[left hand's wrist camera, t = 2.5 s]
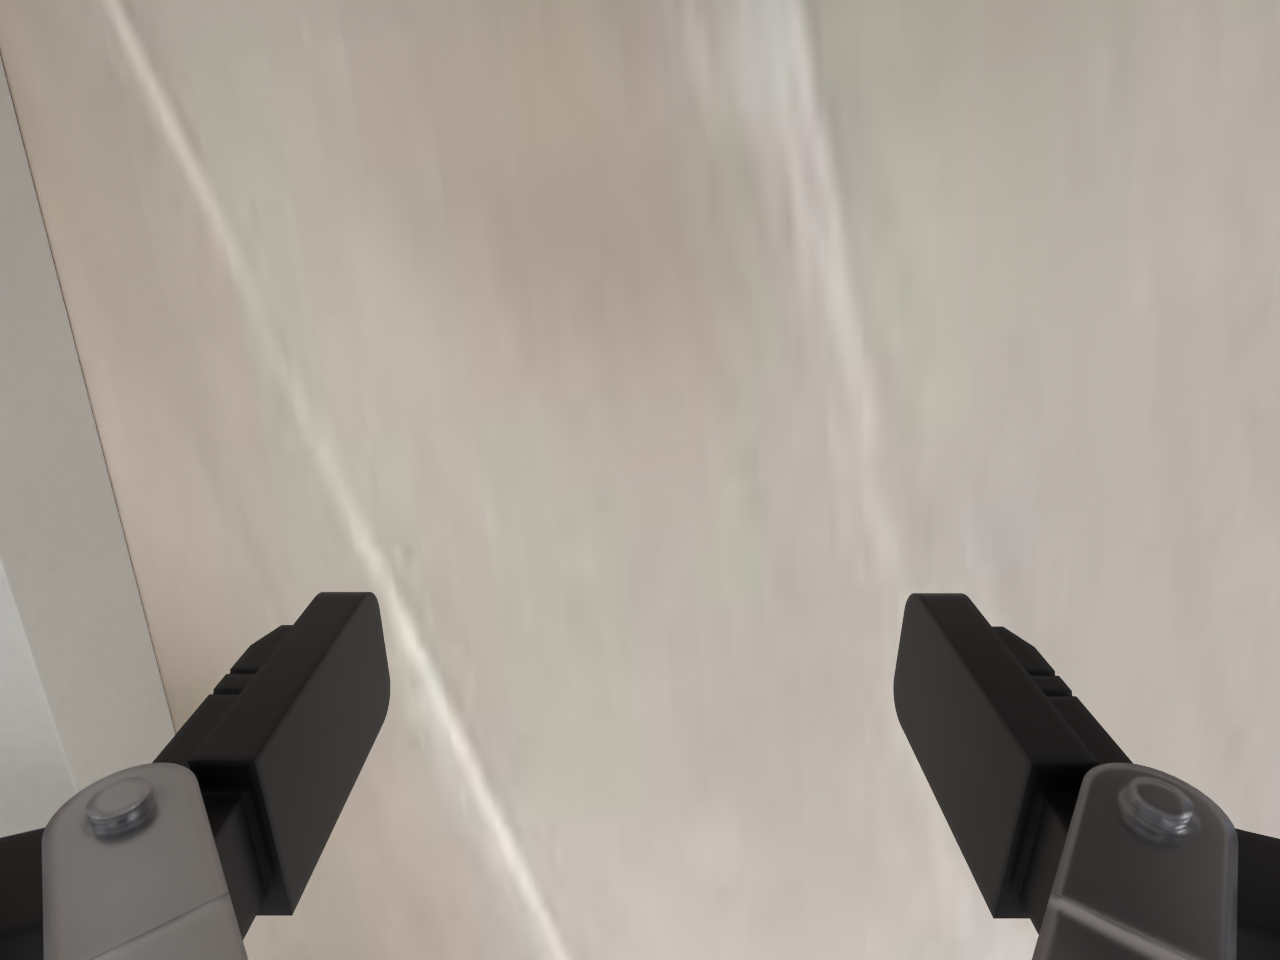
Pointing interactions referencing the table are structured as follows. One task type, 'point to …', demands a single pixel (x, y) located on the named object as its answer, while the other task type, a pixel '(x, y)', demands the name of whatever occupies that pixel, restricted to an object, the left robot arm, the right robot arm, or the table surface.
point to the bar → (58, 545)
